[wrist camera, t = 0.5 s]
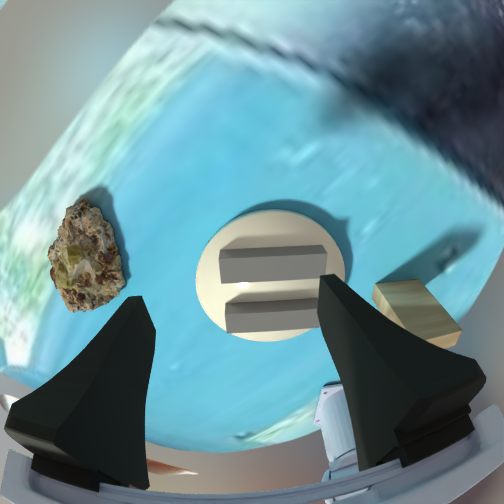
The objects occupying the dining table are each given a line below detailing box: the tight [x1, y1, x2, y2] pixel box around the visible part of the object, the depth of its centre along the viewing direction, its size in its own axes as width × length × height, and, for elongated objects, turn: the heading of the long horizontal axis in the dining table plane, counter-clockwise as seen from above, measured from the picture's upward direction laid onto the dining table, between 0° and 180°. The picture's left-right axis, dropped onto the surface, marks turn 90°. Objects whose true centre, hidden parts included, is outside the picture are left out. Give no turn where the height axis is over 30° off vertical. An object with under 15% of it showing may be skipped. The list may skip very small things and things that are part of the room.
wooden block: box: [372, 279, 462, 349], centre depth 21 cm, size 2×5×8 cm, turn 92°
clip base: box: [196, 209, 345, 342], centre depth 22 cm, size 12×12×2 cm
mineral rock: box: [47, 199, 125, 313], centre depth 21 cm, size 11×4×8 cm
